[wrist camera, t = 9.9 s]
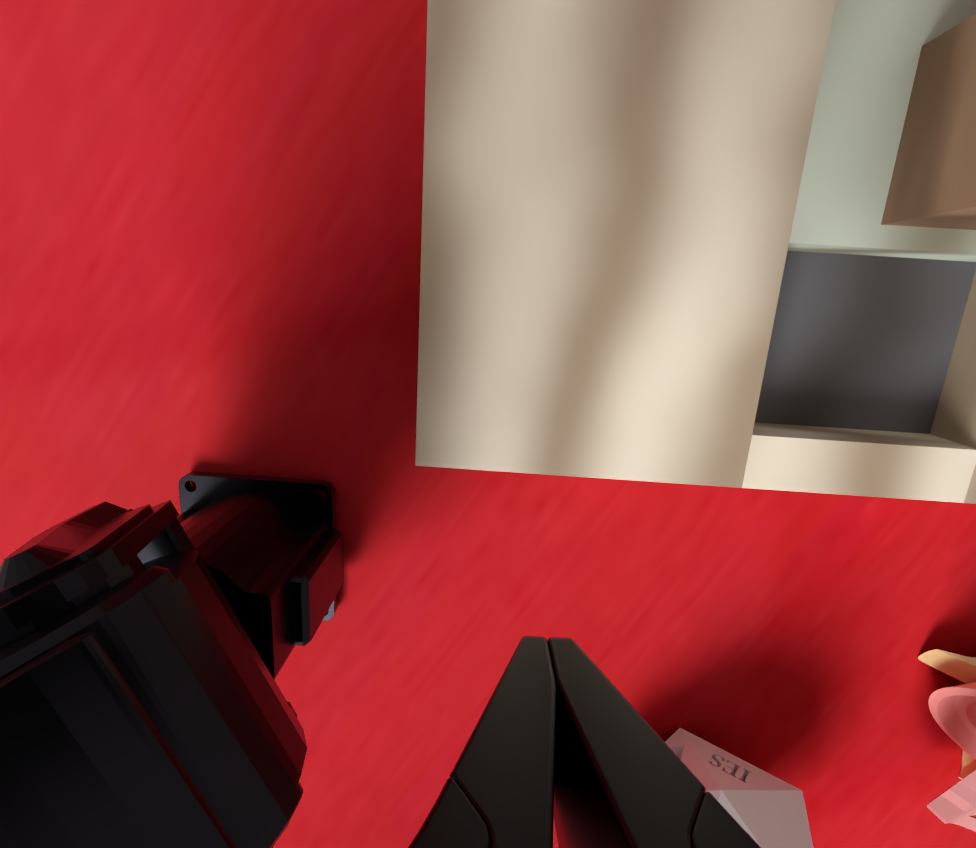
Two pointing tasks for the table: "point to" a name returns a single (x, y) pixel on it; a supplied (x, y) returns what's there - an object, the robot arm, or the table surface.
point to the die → (747, 793)
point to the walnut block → (939, 138)
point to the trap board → (688, 249)
